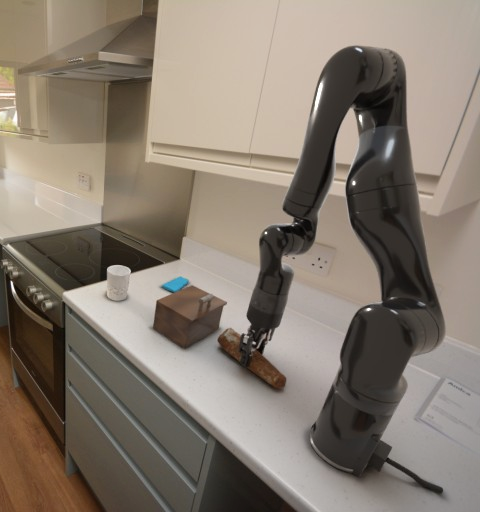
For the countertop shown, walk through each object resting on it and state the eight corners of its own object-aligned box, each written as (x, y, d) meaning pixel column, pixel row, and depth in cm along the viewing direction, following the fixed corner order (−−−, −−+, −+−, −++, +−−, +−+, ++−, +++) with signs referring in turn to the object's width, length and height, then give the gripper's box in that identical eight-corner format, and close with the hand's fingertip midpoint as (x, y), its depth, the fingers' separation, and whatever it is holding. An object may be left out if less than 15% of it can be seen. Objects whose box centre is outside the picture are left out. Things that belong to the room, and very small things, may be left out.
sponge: (193, 282, 128) (180, 274, 132) (174, 291, 121) (161, 283, 124) (192, 285, 129) (180, 278, 132) (173, 295, 121) (160, 287, 125)
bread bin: (218, 328, 103) (224, 303, 99) (184, 349, 93) (189, 322, 89) (187, 311, 111) (191, 287, 107) (152, 328, 101) (156, 302, 98)
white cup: (113, 288, 122) (115, 263, 119) (132, 295, 118) (135, 269, 114) (101, 296, 117) (102, 270, 113) (120, 304, 112) (122, 277, 108)
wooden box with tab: (226, 304, 99) (229, 291, 97) (191, 323, 89) (194, 308, 87) (191, 287, 107) (193, 274, 106) (156, 302, 98) (158, 289, 96)
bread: (230, 341, 97) (234, 325, 95) (289, 388, 81) (295, 370, 79) (213, 346, 95) (217, 329, 92) (270, 395, 79) (276, 377, 77)
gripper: (268, 321, 74) (250, 381, 81) (296, 302, 82) (278, 357, 89) (236, 306, 79) (222, 363, 86) (266, 289, 88) (251, 342, 94)
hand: (250, 360), depth 87 cm, fingers closed on bread, 6 cm apart
